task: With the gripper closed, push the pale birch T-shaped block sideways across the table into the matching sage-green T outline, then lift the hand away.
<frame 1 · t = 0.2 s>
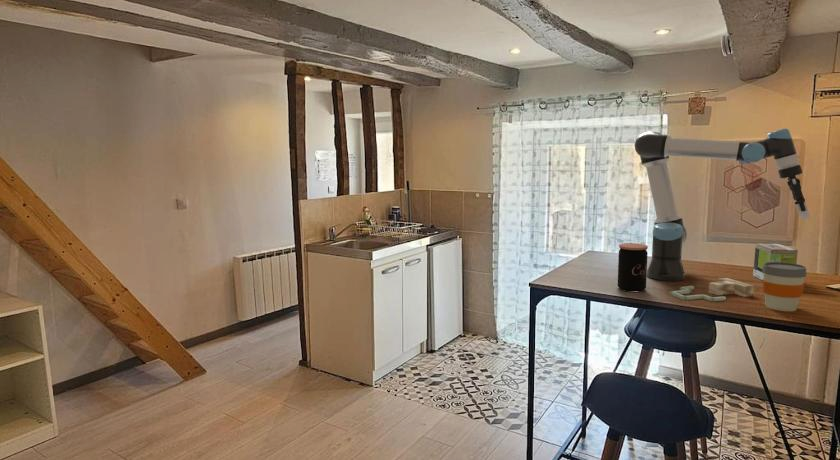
hand: (804, 217, 205), 27 cm above the table, tool tilted 20°, fingers open, 13 cm apart
tea box: (772, 280, 215), on the table
coffee jar: (631, 289, 206), on the table
reusable coffee cup: (780, 307, 179), on the table
t outline: (694, 295, 195), on the table
t block: (725, 292, 198), on the table
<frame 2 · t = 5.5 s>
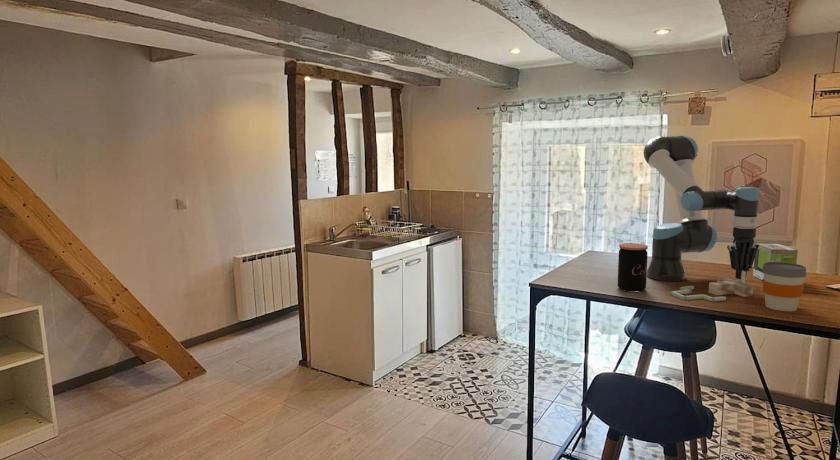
hand: (740, 286, 199), 2 cm above the table, tool pointing down, fingers closed
t block: (725, 292, 198), on the table, touching gripper
everything else where it was.
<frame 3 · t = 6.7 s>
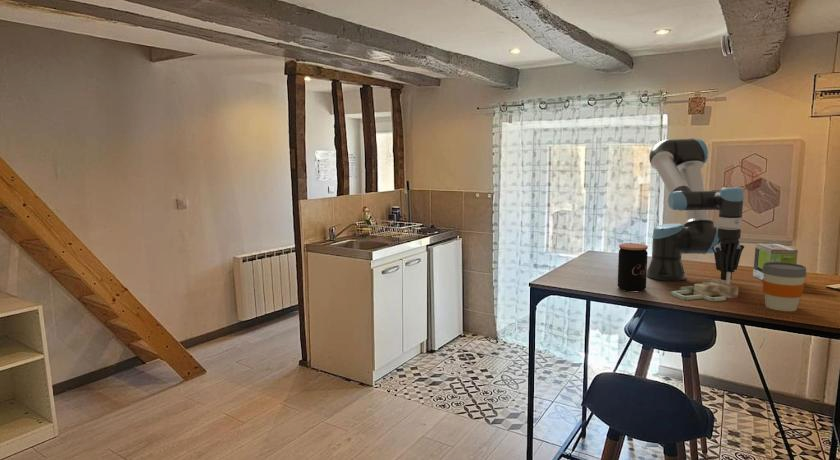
hand: (725, 287, 198), 2 cm above the table, tool pointing down, fingers closed
t block: (710, 294, 196), on the table, touching gripper
everything else where it was.
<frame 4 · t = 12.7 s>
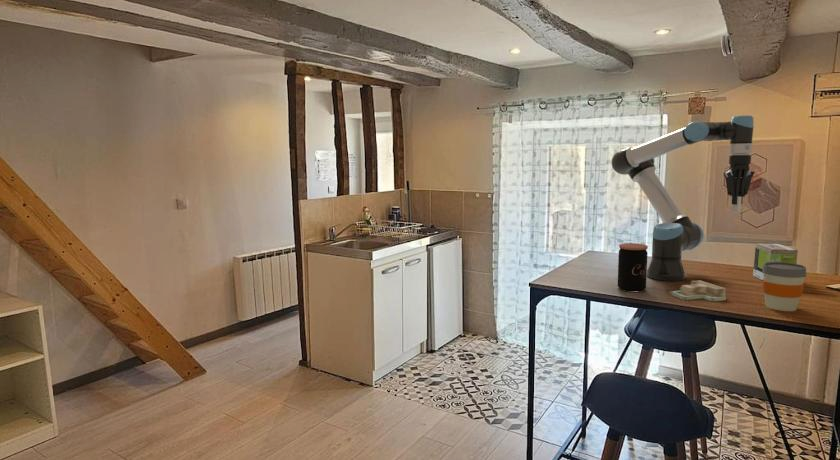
hand: (736, 212, 210), 29 cm above the table, tool pointing down, fingers closed
t block: (698, 295, 195), on the table
everything else where it was.
at the end: t block 1.3 cm off-centre on the t outline, point 0.0 cm above the t outline's base; t block tilted 0° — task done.
